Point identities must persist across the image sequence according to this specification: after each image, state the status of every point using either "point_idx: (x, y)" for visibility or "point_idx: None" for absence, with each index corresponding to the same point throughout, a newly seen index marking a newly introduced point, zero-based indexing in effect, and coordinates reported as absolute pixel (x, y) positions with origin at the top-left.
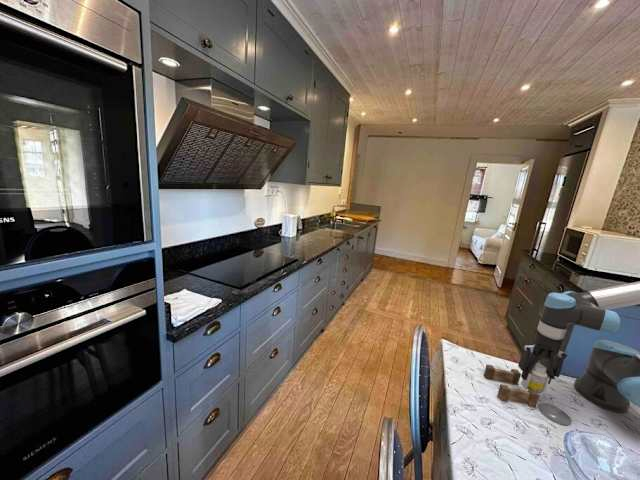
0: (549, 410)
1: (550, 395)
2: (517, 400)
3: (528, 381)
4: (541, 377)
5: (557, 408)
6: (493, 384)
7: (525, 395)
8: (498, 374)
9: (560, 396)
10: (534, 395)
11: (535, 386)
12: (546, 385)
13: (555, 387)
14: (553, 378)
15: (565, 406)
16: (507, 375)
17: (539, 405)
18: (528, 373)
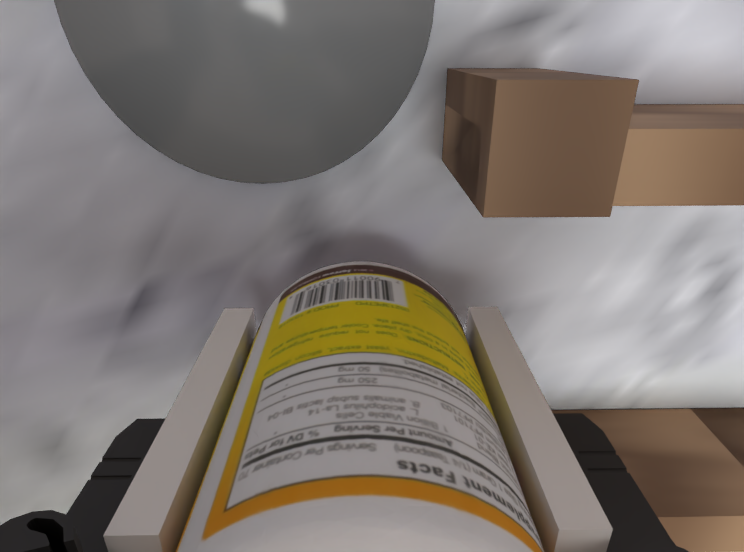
0: (296, 29)
1: (121, 348)
2: (676, 108)
3: (521, 389)
4: (390, 484)
5: (152, 110)
6: (732, 347)
7: (656, 119)
8: (698, 476)
9: (8, 363)
10: (584, 78)
11: (418, 319)
12: (200, 383)
13: (8, 477)
14: (16, 535)
15: (16, 210)
16: None
17: (389, 101)
18: (636, 546)
